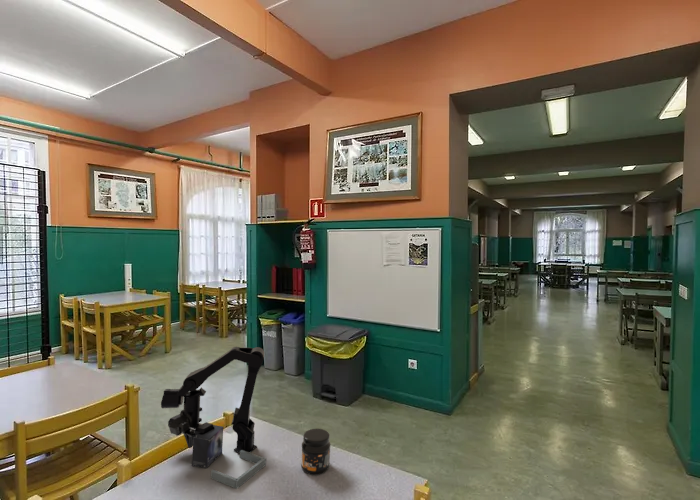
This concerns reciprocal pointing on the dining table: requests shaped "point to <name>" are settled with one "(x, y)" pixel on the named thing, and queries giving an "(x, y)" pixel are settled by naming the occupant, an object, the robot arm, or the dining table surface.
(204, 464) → the small box
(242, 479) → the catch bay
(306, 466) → the supplement container
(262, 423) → the dining table surface
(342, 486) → the dining table surface
